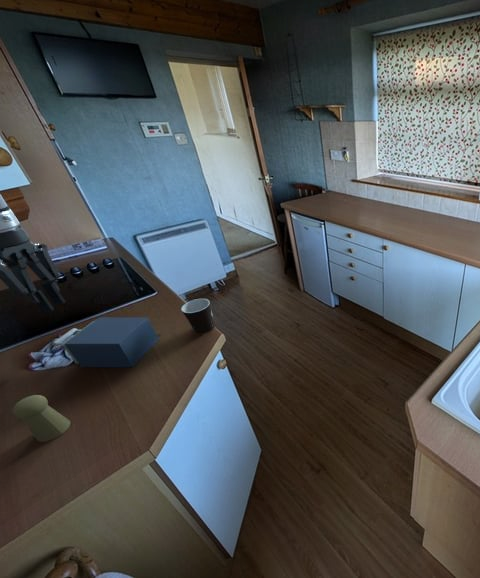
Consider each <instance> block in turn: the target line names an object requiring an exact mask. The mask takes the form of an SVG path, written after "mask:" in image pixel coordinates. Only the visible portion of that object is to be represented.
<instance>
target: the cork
mask: <svg viewBox="0 0 480 578" xmlns="http://www.w3.org/2000/svg"><path fill="white" fill-rule="evenodd" d="M12 414H13V416H15V417H16V418H18V419H23V421H24V422H25V424H26V425H27V427H28V429H29V430H30V432H31V434H33V436H34V438H35V440H36V441H37V442H39V443H46V442H50V441H53V440H54V439H56V438H58V437H60V436H61V435H63V434H64V433H65V432H66V431H67V430H68V429H69V428H70V425H72V424H71V420H69V419H68V418H67V417H65V416H64V415H63V414H61V413H60V412H58V411H57V410H56V409H54V408H53V407H51V406H50V405H49V402H48V399H47V398H46V397H45V396H43V395H42V394H41V395H40V394H32V395H30V396H27V397H24V398H23V399H21V400H19V401H18V402H16V403H15V404H14V406H13V407H12Z"/></svg>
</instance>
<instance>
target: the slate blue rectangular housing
mask: <svg viewBox="0 0 480 578" xmlns="http://www.w3.org/2000/svg"><path fill="white" fill-rule="evenodd" d="M93 321H94V322H93ZM93 321H92V322H93V323H91V322H90V323H91V324H90V323H89V324H90V325H89V324H88V325H89V326H87V325H86V326H87V327H86V326H85V327H86V328H85V327H84V328H85V329H83V328H82V329H83V330H82V329H81V330H82V331H81V332H79V333H78V332H77V333H78V334H77V333H76V334H77V335H75V334H74V335H75V336H74V335H73V336H74V337H73V336H72V337H73V338H71V337H70V338H71V339H70V338H69V339H70V340H69V339H68V340H69V341H67V340H66V341H67V342H66V341H65V342H66V343H65V346H66V347H67V348H68V350H69V351H70V352H71V354H72V355H73V356H74V358H75V359H76V360H77V362H78V363H79V364H78V365H79V366H80V368H134V367H136V365H137V364H138V363H139V361H141V359H142V358H143V357H144V356H145V355H146V354H147V353H148V352H149V351H150V350H151V349H152V348H153V347H154V346H155V345H156V344H157V343H158V342H159V340H160V339H159V337H158V335H157V333H156V331H155V329H154V327H153V325H152V323H151V321H150V319H149V317H108V316H107V317H103V316H102V317H98V318H97V319H94V320H93Z"/></svg>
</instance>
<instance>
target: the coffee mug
mask: <svg viewBox="0 0 480 578" xmlns="http://www.w3.org/2000/svg"><path fill="white" fill-rule="evenodd" d="M181 312H182V314H183V315H184V317H185V318H186V320H187V321H188V323H189V325H190V326H191V328H192V329H193V331H194V333H196V334H199V335H203V334H207V333H208V332H209V333H210V332H211V331H213V329H214V328H215V321H214V316H213V310H212V306H211V301H210V300H209V299H207V298H196V299H192V300H189V301H188V302H186V303H184V304H183V305H182V306H181ZM212 325H213V326H212Z"/></svg>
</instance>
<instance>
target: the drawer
mask: <svg viewBox="0 0 480 578" xmlns="http://www.w3.org/2000/svg"><path fill="white" fill-rule="evenodd" d="M94 321H95V320H93V321H91V322H90V323H88V325H86V326H85V327H83V328H82V329H78V328H77V327H73V328H71V329H70V330H68V331H67V332H66V333H64V334H63V335H61V336H60V337H59V338H57V339H56V340H54V341H53V342H52V346H53V347H58V346H62V347H63V349H64V350H65V352H66V353H67V354H68V355H69V357H70V358H71V359H72V360H73V362H74V363H75V364H76V365H80V364H79V363H78V362H77V360H76V359H75V358H74V356H73V355H72V354H71V352H70V351H69V350H68V348H67V347H66V346H65V343H66V342H67V341H69V340H70V339H71V338H73V337H74V336H75V335H77V334H78V333H79V332H81V331H82V330H83V329H85V328H86V327H87V326H89V325H90V324H91V323H93V322H94Z"/></svg>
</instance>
